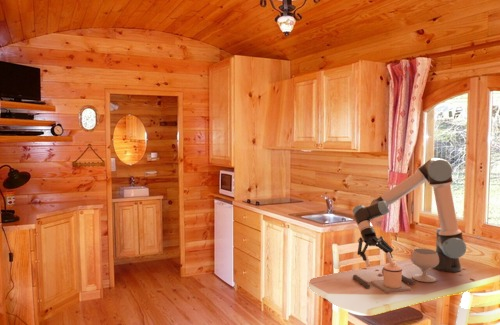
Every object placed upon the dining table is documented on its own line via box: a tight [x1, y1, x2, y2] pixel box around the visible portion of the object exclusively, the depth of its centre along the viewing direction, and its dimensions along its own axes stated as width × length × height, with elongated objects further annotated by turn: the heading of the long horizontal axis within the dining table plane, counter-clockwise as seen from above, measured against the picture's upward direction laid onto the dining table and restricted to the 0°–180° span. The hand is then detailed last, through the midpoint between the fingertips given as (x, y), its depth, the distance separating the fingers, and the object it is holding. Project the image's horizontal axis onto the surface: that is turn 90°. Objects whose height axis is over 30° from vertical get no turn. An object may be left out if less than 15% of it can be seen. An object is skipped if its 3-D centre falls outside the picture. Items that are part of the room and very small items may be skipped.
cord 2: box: [402, 274, 414, 286], centre depth 218 cm, size 15×2×2 cm, turn 13°
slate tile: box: [370, 279, 412, 293], centre depth 209 cm, size 14×14×1 cm
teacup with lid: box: [381, 261, 403, 288], centre depth 209 cm, size 12×9×12 cm
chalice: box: [410, 248, 439, 283], centre depth 220 cm, size 14×14×15 cm
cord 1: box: [352, 274, 371, 289], centre depth 213 cm, size 15×2×2 cm, turn 13°
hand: (380, 265), depth 218 cm, fingers open, 13 cm apart
